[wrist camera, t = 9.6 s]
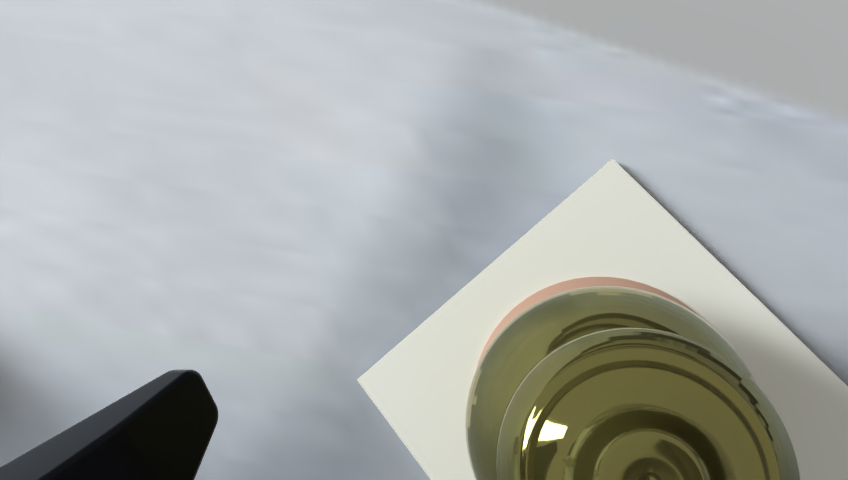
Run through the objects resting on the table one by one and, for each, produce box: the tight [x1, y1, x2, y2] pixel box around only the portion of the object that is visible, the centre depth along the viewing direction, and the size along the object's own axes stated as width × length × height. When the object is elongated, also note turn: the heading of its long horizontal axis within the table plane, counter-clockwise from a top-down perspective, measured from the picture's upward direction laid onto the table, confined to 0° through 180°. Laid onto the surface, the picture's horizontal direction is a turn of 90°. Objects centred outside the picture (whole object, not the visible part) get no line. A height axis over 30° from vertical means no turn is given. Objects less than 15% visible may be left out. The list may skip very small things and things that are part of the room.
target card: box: [357, 159, 848, 480], centre depth 18 cm, size 12×12×1 cm
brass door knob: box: [465, 286, 800, 480], centre depth 13 cm, size 7×7×10 cm
